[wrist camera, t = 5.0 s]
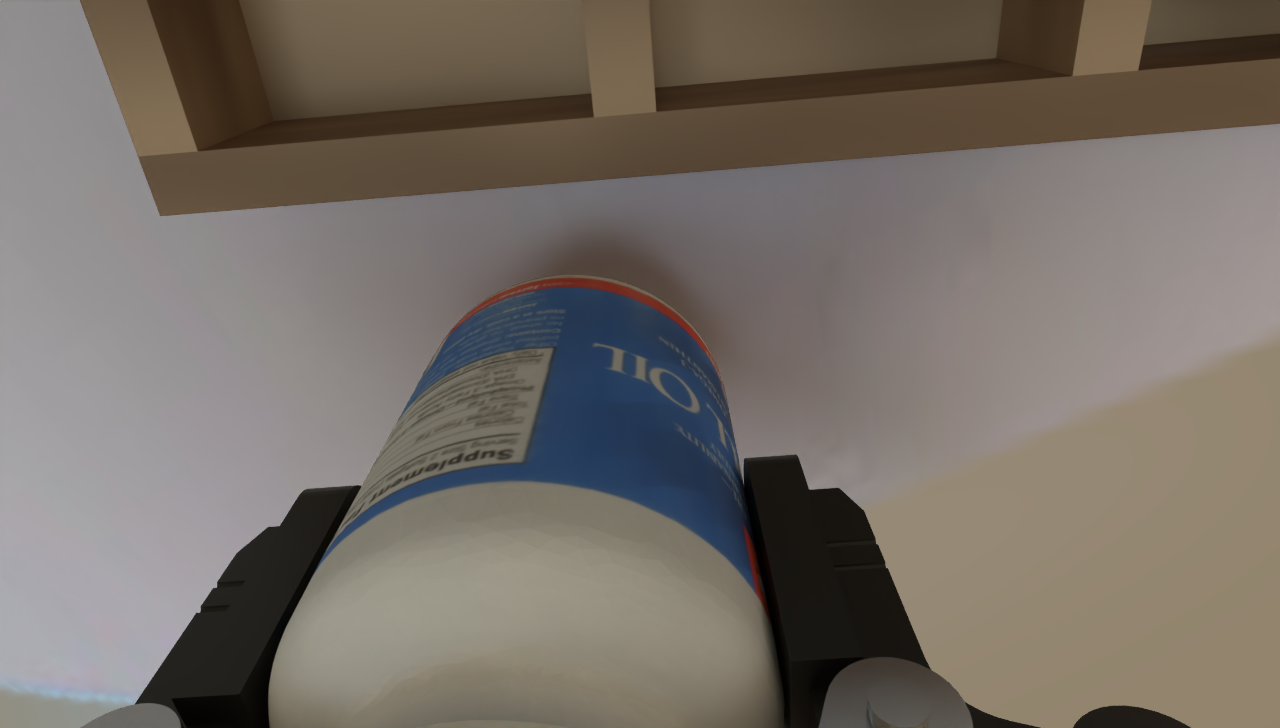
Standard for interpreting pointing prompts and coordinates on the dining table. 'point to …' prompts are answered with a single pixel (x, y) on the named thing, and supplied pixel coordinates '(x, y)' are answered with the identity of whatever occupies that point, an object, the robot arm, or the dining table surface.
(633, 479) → the pill bottle
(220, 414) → the dining table surface
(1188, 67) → the wooden compartment tray
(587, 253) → the dining table surface
